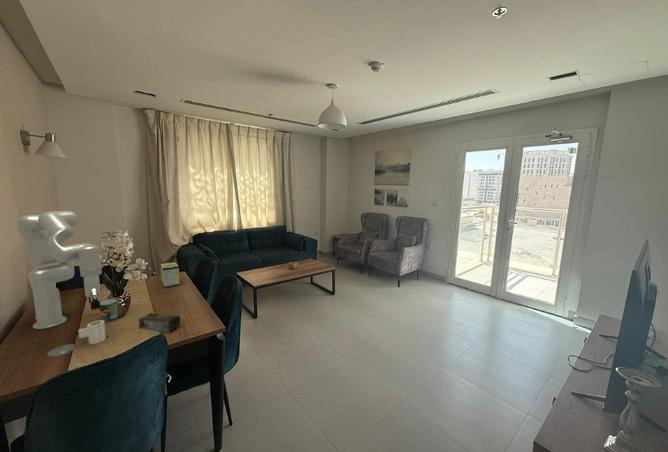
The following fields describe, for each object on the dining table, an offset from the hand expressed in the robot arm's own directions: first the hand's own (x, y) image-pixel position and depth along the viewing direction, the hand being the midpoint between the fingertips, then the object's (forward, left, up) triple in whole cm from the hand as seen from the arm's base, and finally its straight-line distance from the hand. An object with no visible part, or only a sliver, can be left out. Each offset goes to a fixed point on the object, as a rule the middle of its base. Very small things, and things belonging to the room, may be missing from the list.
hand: (94, 305), depth 129 cm
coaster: (-6, -11, -18) cm, 22 cm away
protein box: (-31, +73, -18) cm, 82 cm away
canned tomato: (-16, +17, -18) cm, 30 cm away
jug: (-1, -2, -18) cm, 18 cm away
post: (0, 0, -18) cm, 18 cm away
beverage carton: (+17, +19, -19) cm, 32 cm away
